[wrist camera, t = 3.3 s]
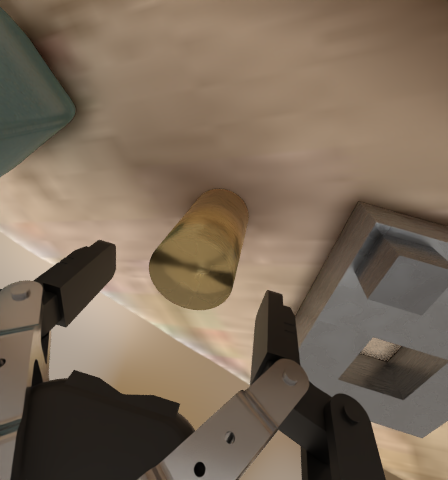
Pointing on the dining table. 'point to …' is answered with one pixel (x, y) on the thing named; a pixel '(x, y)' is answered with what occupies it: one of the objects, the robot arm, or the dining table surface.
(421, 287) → the plate
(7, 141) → the flower pot
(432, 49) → the dining table surface
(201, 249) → the gold peg
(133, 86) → the dining table surface
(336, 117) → the dining table surface
